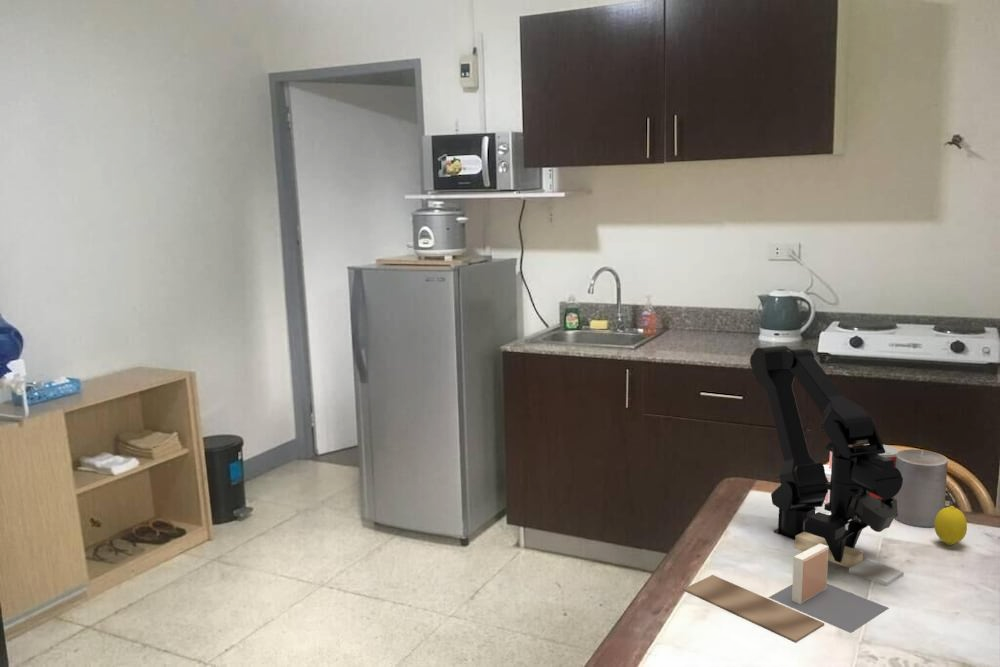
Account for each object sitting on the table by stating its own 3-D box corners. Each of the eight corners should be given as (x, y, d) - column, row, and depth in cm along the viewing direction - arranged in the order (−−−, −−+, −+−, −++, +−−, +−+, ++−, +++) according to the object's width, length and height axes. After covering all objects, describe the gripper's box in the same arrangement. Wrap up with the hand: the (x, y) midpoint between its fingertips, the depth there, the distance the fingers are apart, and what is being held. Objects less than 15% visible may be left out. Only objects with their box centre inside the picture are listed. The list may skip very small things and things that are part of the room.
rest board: (683, 592, 148) (683, 588, 148) (712, 578, 153) (712, 574, 152) (795, 645, 131) (795, 640, 131) (824, 627, 136) (824, 623, 135)
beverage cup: (843, 505, 185) (847, 444, 182) (842, 516, 179) (846, 453, 177) (814, 501, 187) (817, 441, 184) (811, 512, 182) (815, 449, 179)
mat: (768, 599, 145) (768, 597, 145) (807, 578, 152) (807, 575, 152) (850, 635, 133) (851, 632, 133) (889, 610, 140) (889, 607, 140)
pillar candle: (908, 506, 184) (912, 440, 181) (953, 520, 176) (958, 451, 173) (882, 517, 178) (886, 449, 176) (927, 532, 170) (932, 461, 168)
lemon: (969, 552, 161) (972, 512, 160) (937, 550, 162) (941, 510, 161) (959, 540, 166) (963, 501, 165) (929, 538, 168) (932, 500, 166)
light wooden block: (790, 552, 163) (791, 537, 162) (807, 543, 166) (808, 529, 166) (886, 588, 148) (887, 572, 147) (903, 578, 151) (904, 562, 151)
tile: (791, 600, 143) (793, 556, 142) (817, 585, 148) (820, 543, 147) (801, 604, 142) (803, 560, 141) (827, 589, 147) (829, 546, 145)
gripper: (862, 505, 142) (857, 590, 145) (916, 479, 154) (910, 558, 157) (803, 487, 151) (799, 568, 154) (858, 463, 162) (853, 539, 165)
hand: (842, 558), depth 157 cm, fingers closed on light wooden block, 3 cm apart
